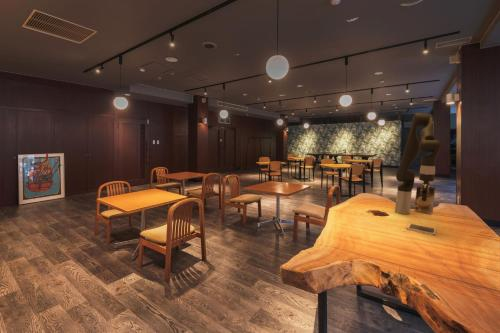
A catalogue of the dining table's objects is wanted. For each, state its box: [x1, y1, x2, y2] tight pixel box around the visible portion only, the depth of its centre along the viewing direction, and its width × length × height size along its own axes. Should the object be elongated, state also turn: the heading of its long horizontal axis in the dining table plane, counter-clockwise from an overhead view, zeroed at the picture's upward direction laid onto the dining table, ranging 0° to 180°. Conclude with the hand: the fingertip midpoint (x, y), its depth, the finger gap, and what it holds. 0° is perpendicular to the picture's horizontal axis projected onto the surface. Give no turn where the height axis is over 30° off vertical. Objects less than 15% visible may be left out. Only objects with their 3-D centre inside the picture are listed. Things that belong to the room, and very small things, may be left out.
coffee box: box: [413, 185, 437, 216], centre depth 151 cm, size 9×6×16 cm
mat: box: [406, 222, 437, 236], centre depth 154 cm, size 14×12×1 cm
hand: (424, 199), depth 151 cm, fingers closed on coffee box, 6 cm apart
